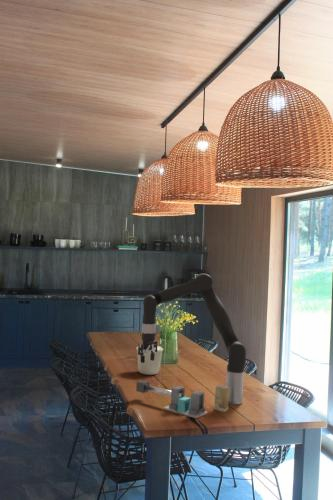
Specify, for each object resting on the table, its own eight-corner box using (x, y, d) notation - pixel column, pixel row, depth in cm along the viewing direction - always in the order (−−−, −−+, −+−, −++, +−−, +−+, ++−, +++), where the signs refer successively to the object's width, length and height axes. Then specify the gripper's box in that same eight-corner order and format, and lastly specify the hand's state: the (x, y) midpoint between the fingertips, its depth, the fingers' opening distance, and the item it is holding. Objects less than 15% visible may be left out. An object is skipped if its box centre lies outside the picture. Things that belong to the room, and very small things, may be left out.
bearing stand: (175, 404, 270) (176, 383, 270) (207, 413, 258) (208, 391, 259) (163, 409, 261) (164, 387, 261) (195, 418, 250) (197, 395, 250)
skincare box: (213, 409, 266) (215, 386, 266) (217, 407, 269) (219, 384, 269) (224, 412, 262) (226, 388, 262) (228, 410, 266) (229, 386, 266)
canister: (161, 377, 328) (163, 344, 328) (133, 375, 329) (135, 343, 329) (162, 370, 346) (164, 340, 346) (136, 369, 347) (137, 338, 347)
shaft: (136, 391, 276) (136, 381, 276) (141, 389, 280) (142, 380, 280) (177, 402, 260) (178, 392, 260) (183, 400, 264) (183, 390, 264)
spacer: (183, 407, 264) (184, 396, 264) (190, 408, 262) (190, 398, 262) (177, 409, 259) (177, 398, 259) (183, 411, 257) (184, 400, 257)
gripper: (151, 329, 285) (150, 358, 285) (135, 332, 274) (133, 362, 274) (161, 331, 281) (160, 360, 281) (146, 334, 269) (144, 364, 269)
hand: (147, 361), depth 277 cm, fingers open, 8 cm apart
